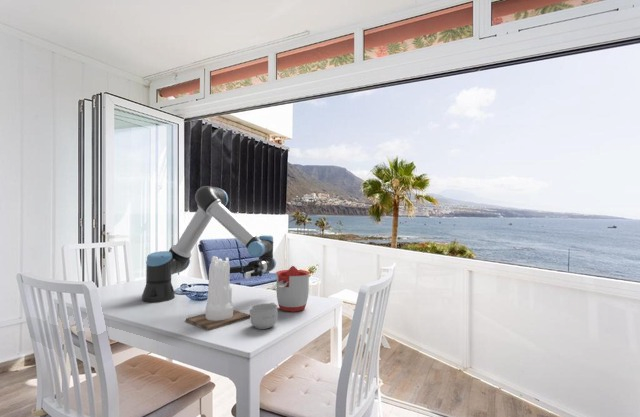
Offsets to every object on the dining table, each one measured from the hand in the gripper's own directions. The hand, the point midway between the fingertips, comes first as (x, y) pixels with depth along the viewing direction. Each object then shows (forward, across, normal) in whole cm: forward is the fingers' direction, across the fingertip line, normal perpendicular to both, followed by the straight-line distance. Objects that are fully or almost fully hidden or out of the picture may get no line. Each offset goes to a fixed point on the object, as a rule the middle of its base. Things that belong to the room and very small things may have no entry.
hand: (232, 274), depth 147 cm
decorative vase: (+10, 0, -16) cm, 19 cm away
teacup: (+9, -22, -17) cm, 29 cm away
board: (+10, 0, -17) cm, 19 cm away
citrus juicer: (-15, -22, -17) cm, 32 cm away
